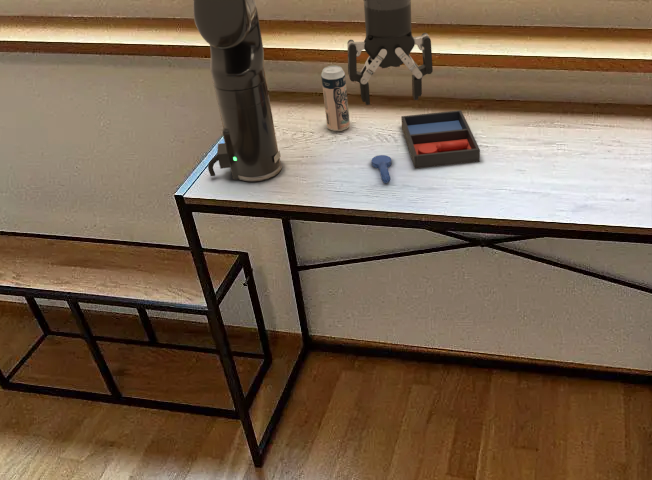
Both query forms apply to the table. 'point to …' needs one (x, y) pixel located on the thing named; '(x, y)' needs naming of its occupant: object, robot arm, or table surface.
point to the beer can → (335, 98)
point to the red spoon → (442, 147)
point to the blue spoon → (382, 166)
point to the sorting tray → (439, 138)
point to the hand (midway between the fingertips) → (391, 100)
